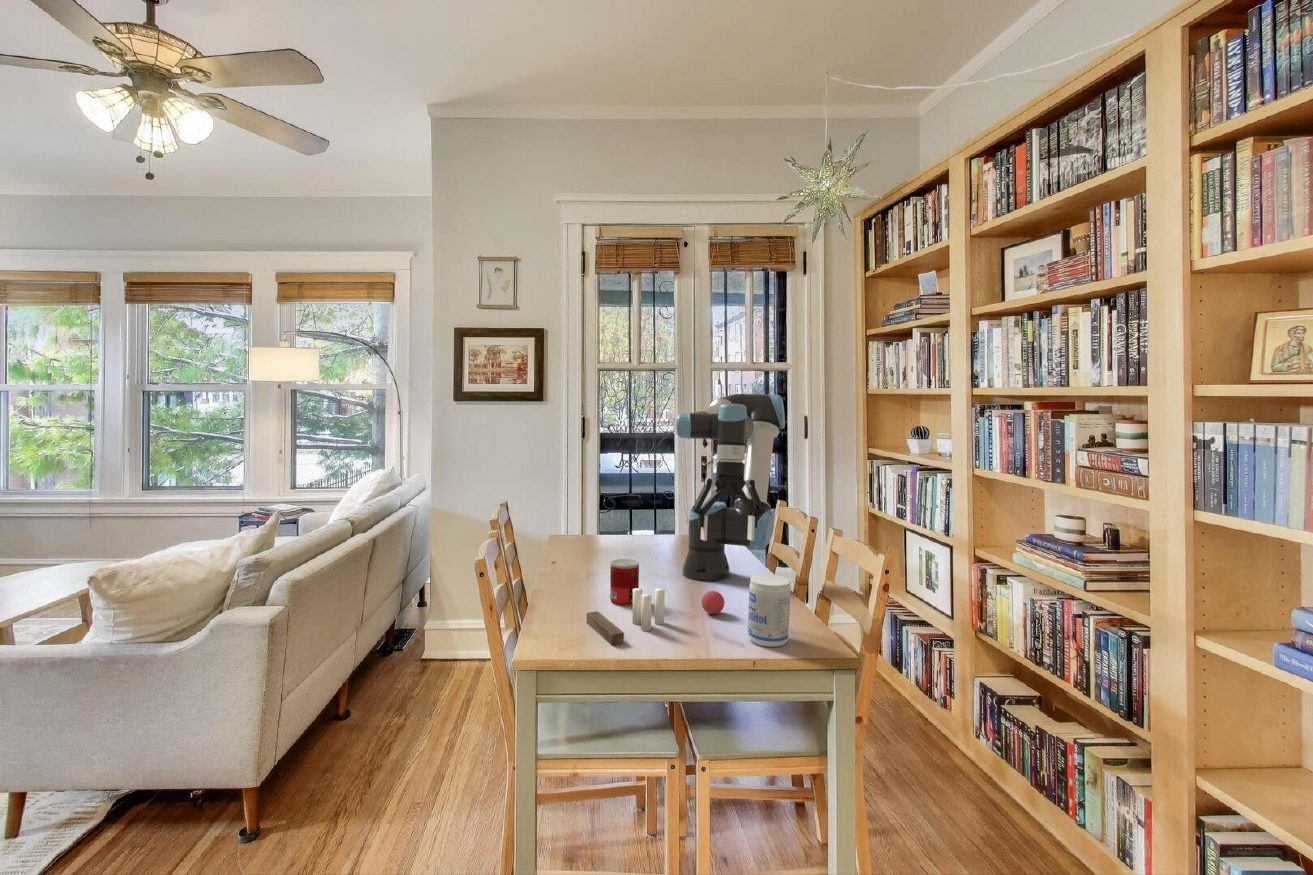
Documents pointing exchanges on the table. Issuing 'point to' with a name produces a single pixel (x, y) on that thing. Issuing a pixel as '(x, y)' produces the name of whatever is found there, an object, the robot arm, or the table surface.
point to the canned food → (623, 581)
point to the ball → (713, 602)
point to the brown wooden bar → (605, 628)
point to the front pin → (659, 606)
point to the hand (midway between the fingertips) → (727, 540)
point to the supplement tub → (769, 610)
